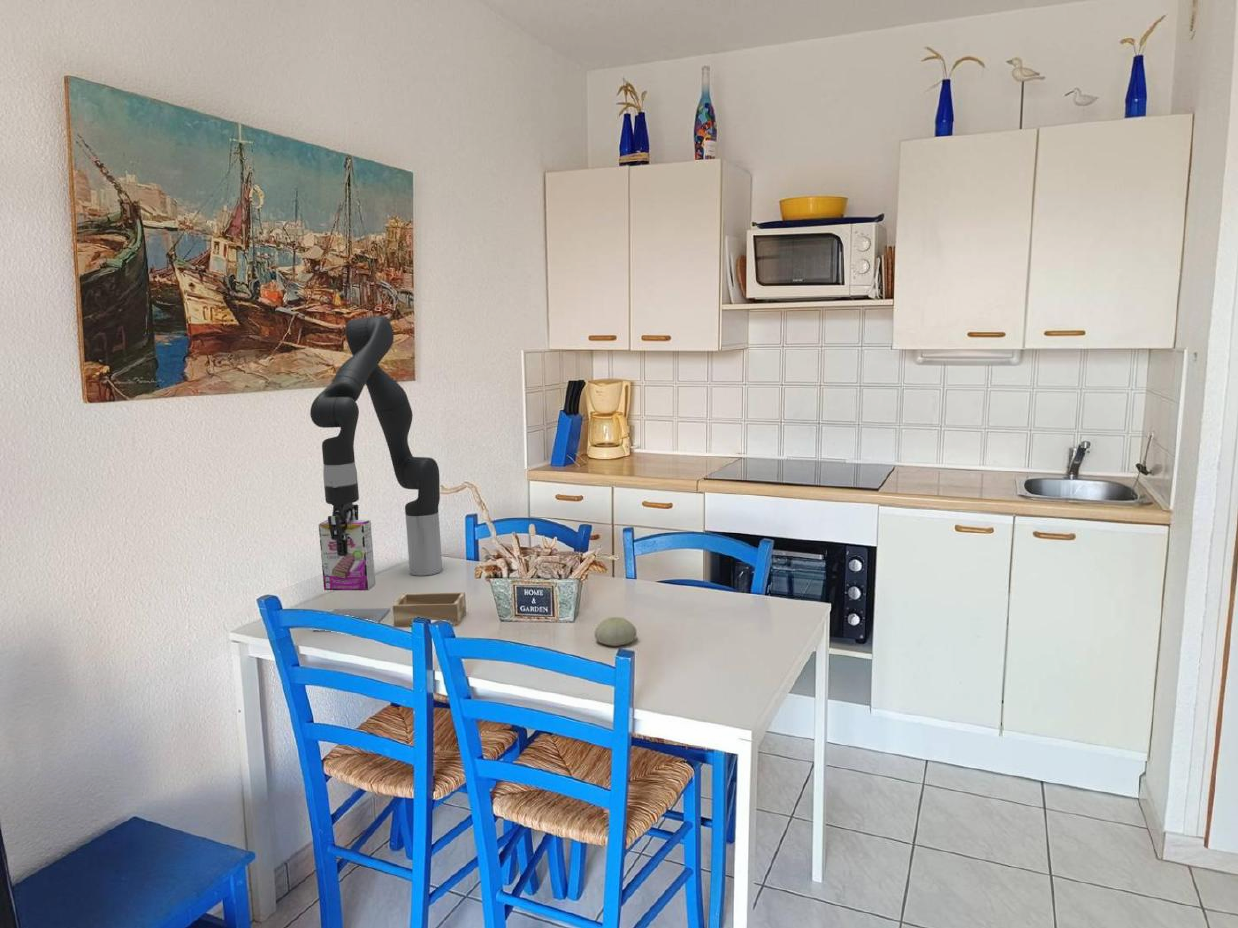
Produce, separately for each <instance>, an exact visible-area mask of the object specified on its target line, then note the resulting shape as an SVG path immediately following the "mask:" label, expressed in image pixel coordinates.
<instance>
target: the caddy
mask: <svg viewBox="0 0 1238 928" xmlns="http://www.w3.org/2000/svg"><path fill="white" fill-rule="evenodd" d="M466 603H467V602H466V592H433V593H432V592H431V593H428V592H427V593H425V592H424V593H403V594H402V595H401V597H399V599H398V600H397V601H396V602H395V603H394V604H393V605H392V616H393V617H392V618H393V626H394V627H412V626H411V624H412V620H413V619H414V618H417V617H420V618H427V619H430V620H446V621H450V622H451V623H452V625H451V626H459V624H460V622H461V621H462V619H463V618H464V616H466V615H465V614H466V613H467V604H466Z"/></svg>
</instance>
